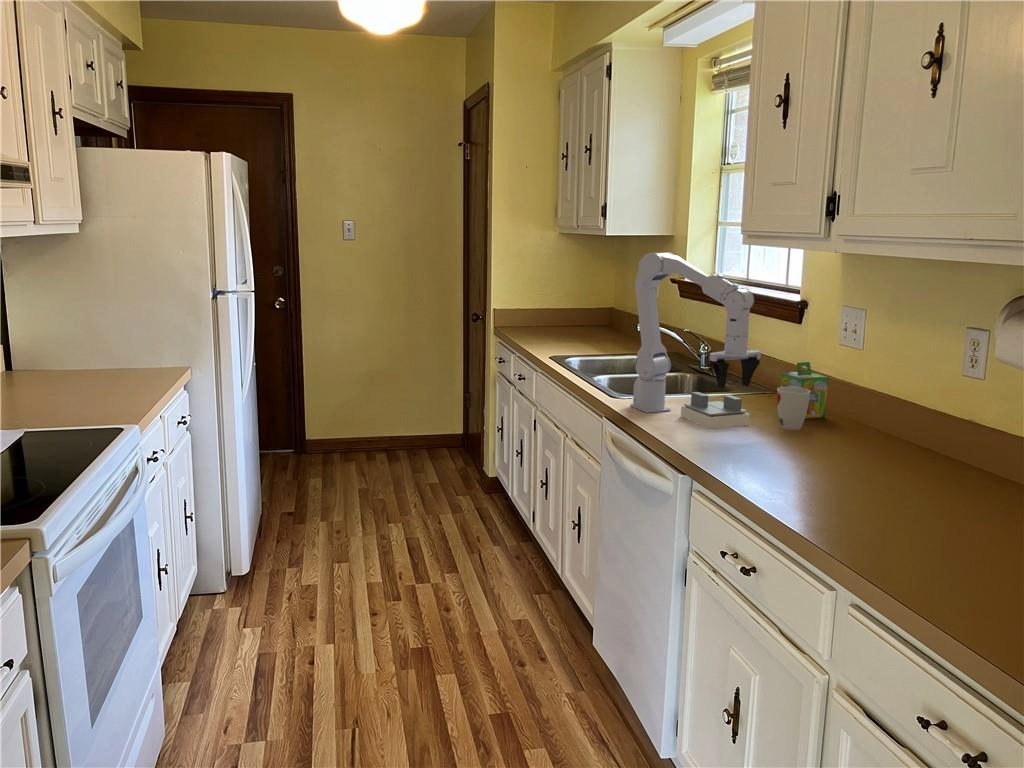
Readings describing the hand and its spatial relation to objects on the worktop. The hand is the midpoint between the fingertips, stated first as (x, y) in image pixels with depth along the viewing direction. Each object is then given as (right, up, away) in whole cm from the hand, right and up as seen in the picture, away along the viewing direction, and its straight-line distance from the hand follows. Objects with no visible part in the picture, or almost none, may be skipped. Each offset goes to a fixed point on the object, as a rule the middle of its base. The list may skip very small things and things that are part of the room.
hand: (733, 386), depth 212 cm
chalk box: (+22, -8, +11) cm, 26 cm away
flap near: (-7, -6, +2) cm, 9 cm away
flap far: (-1, -6, +5) cm, 7 cm away
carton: (-4, -9, +4) cm, 11 cm away
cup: (+14, -11, -2) cm, 18 cm away
